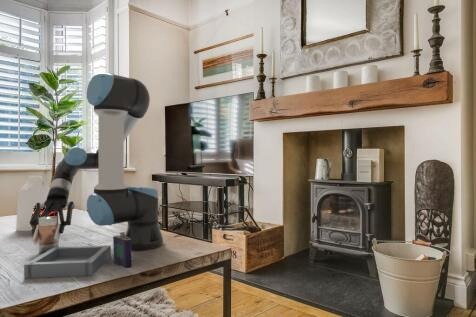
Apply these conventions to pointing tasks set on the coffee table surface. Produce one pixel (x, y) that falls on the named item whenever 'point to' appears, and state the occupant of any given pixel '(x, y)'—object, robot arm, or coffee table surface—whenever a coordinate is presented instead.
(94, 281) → the coffee table surface
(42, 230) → the glass with pinkish-brown filling
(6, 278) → the coffee table surface
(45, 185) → the milk
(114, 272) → the coffee table surface
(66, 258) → the tray
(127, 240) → the flask
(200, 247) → the coffee table surface
